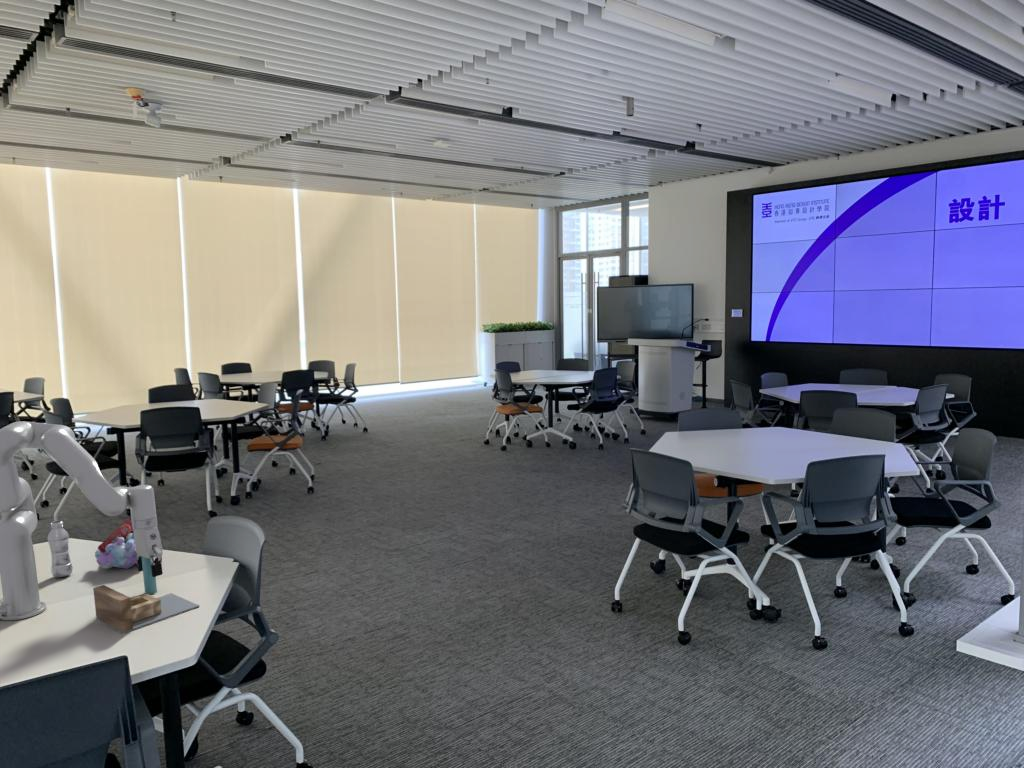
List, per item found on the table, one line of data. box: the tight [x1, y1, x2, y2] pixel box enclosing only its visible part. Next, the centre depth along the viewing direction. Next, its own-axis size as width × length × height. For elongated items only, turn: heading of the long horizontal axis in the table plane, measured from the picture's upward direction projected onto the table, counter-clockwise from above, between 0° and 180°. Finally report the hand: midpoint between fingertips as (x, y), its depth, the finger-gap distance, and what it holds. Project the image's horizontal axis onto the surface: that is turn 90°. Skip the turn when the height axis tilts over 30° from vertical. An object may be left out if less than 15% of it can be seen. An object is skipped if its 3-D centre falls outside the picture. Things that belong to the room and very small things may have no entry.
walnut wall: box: [92, 584, 133, 632], centre depth 228 cm, size 3×18×10 cm, turn 51°
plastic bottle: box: [47, 520, 74, 578], centre depth 272 cm, size 6×7×20 cm
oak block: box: [130, 592, 162, 622], centre depth 233 cm, size 10×10×4 cm
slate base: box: [95, 593, 200, 635], centre depth 236 cm, size 24×18×1 cm
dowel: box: [142, 555, 158, 595], centre depth 253 cm, size 4×4×14 cm
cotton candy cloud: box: [94, 518, 139, 570], centre depth 282 cm, size 20×22×18 cm
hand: (150, 572), depth 253 cm, fingers open, 9 cm apart
